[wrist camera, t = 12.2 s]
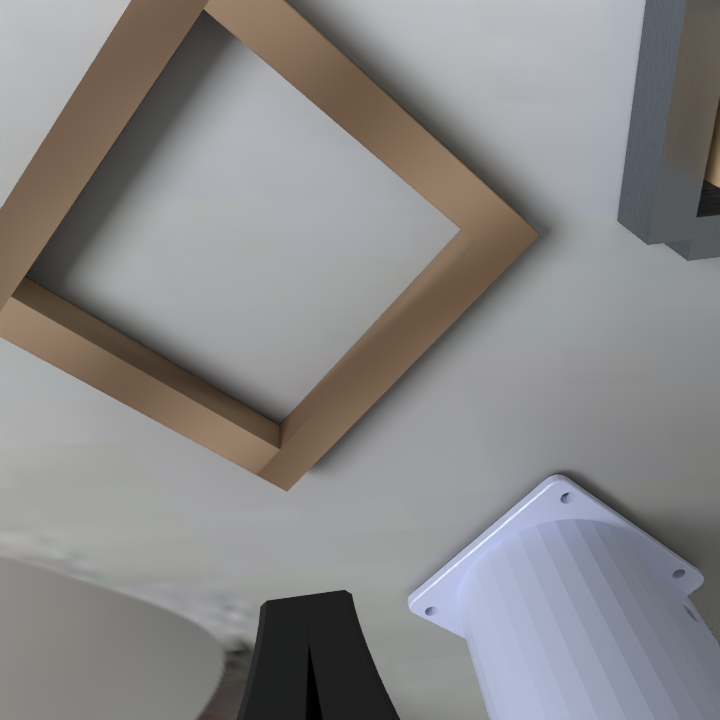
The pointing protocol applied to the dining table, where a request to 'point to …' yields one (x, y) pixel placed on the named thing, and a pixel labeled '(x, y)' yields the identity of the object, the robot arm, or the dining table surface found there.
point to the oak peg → (714, 154)
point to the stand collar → (161, 377)
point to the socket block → (674, 129)
